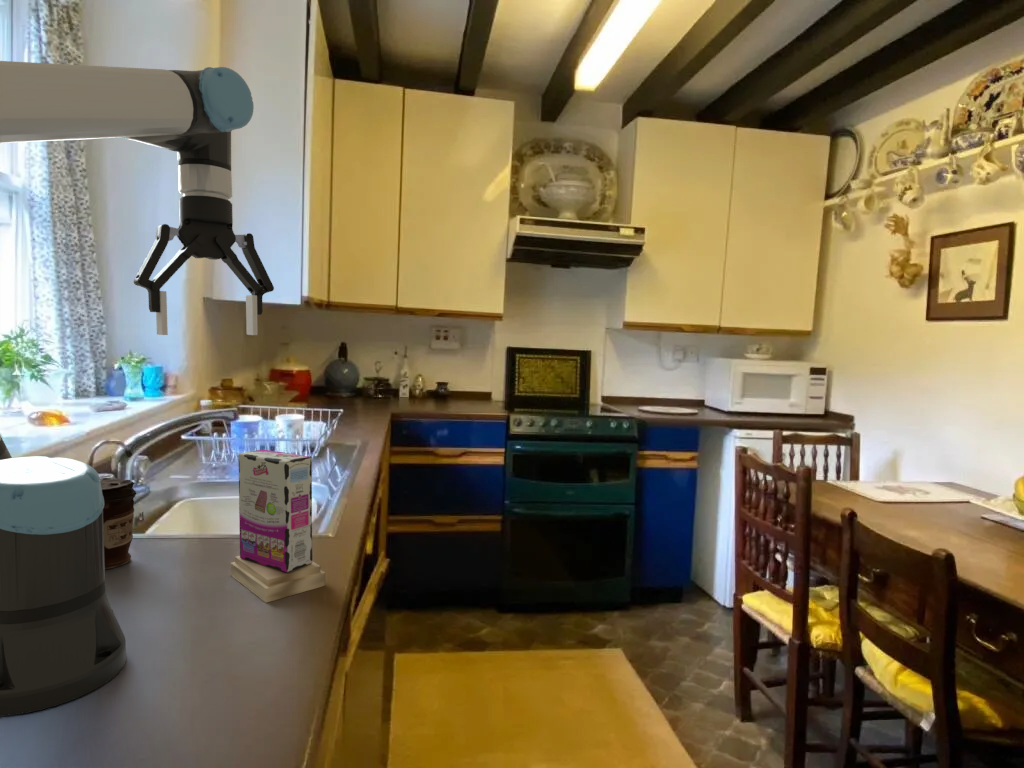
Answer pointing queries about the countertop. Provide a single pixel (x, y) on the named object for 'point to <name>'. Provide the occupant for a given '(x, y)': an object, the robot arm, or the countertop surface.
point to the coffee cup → (117, 520)
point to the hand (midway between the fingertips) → (209, 335)
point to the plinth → (276, 579)
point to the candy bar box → (275, 509)
